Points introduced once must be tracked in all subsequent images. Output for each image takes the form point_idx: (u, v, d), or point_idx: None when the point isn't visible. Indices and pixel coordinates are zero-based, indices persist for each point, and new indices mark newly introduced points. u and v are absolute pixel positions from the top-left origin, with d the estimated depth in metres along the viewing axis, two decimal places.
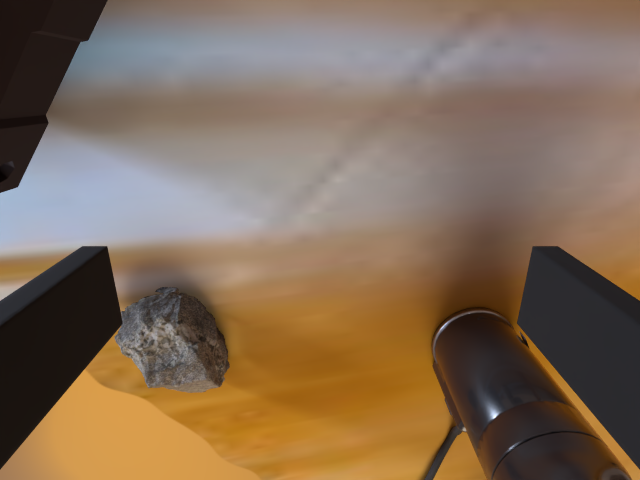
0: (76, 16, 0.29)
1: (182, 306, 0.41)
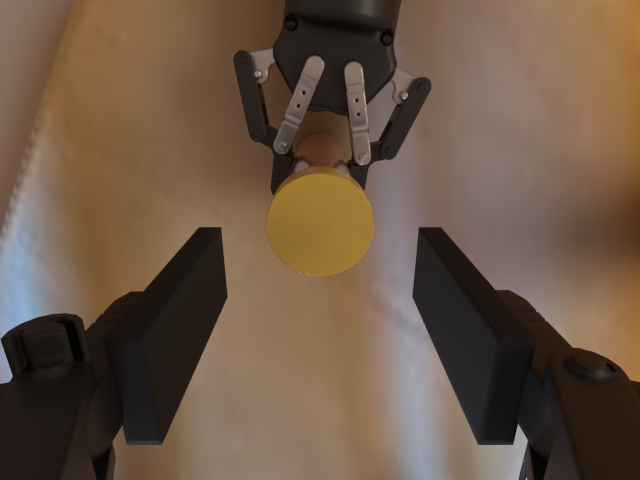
0: None
1: None
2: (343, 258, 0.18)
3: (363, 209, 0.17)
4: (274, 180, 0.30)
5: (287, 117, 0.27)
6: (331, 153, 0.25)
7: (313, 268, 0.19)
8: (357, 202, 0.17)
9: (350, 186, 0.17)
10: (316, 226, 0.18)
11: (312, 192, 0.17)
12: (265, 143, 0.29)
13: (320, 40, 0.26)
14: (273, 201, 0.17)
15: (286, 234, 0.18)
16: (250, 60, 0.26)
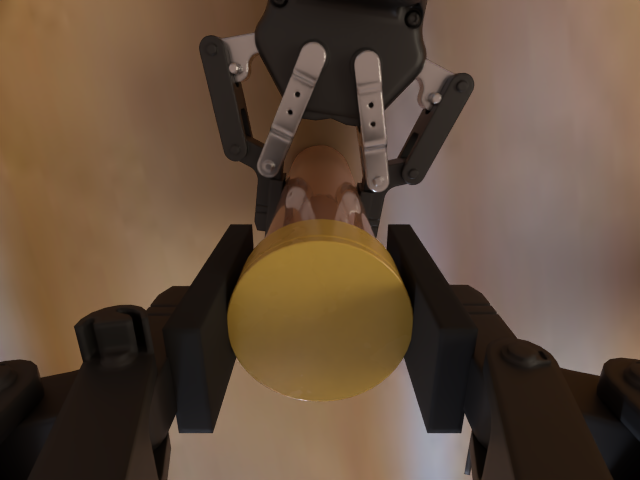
0: None
1: None
2: (359, 376, 0.11)
3: (396, 300, 0.10)
4: (259, 211, 0.22)
5: (275, 129, 0.20)
6: (336, 181, 0.18)
7: (309, 390, 0.11)
8: (386, 288, 0.10)
9: (374, 262, 0.10)
10: (314, 326, 0.10)
11: (306, 272, 0.10)
12: (246, 162, 0.21)
13: (321, 21, 0.19)
14: (238, 287, 0.10)
15: (262, 339, 0.10)
16: (223, 49, 0.19)
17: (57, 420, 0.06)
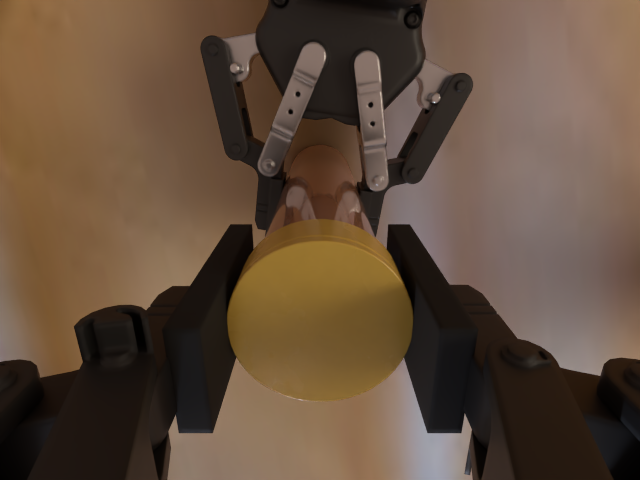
0: None
1: None
2: (389, 307, 0.10)
3: (309, 254, 0.10)
4: (259, 210, 0.23)
5: (275, 128, 0.20)
6: (336, 180, 0.18)
7: (389, 355, 0.11)
8: (293, 261, 0.10)
9: (261, 265, 0.10)
10: (316, 332, 0.10)
11: (256, 323, 0.10)
12: (246, 161, 0.22)
13: (321, 22, 0.19)
14: (257, 378, 0.11)
15: (316, 376, 0.11)
16: (224, 49, 0.19)
17: (57, 420, 0.06)
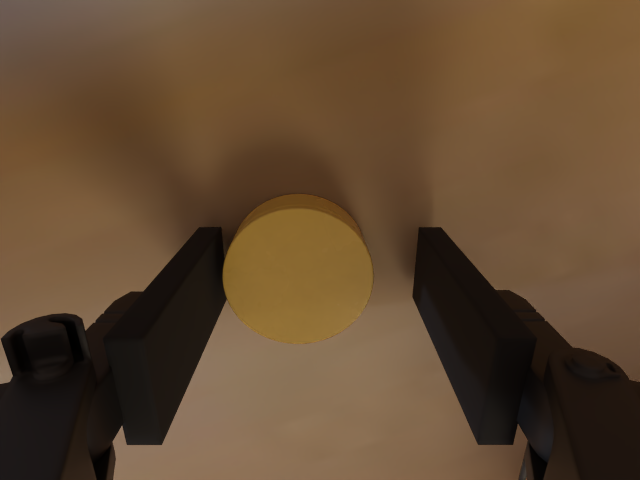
0: None
1: None
2: (353, 262, 0.13)
3: (288, 219, 0.12)
4: None
5: None
6: None
7: (355, 303, 0.13)
8: (275, 225, 0.12)
9: (250, 229, 0.12)
10: (295, 284, 0.13)
11: (247, 277, 0.13)
12: None
13: None
14: (248, 324, 0.13)
15: (296, 322, 0.13)
16: None
17: None
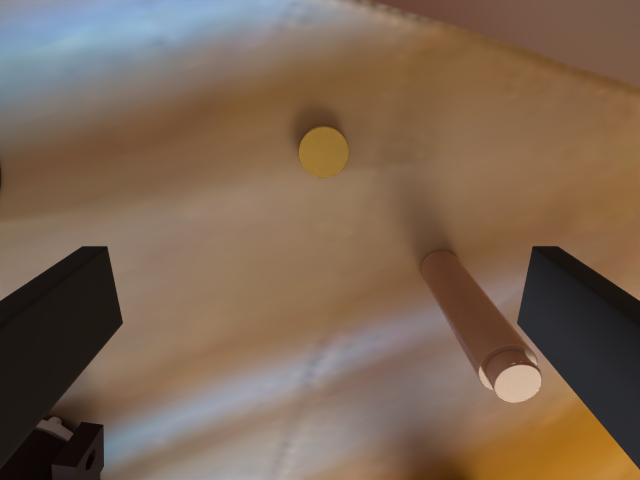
0: (91, 477, 0.47)
1: None
2: (341, 146, 0.38)
3: (320, 130, 0.38)
4: None
5: None
6: None
7: (342, 161, 0.39)
8: (316, 132, 0.38)
9: (308, 134, 0.38)
10: (322, 154, 0.39)
11: (306, 151, 0.39)
12: None
13: None
14: (306, 169, 0.39)
15: (322, 168, 0.39)
16: None
17: None
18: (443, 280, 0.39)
